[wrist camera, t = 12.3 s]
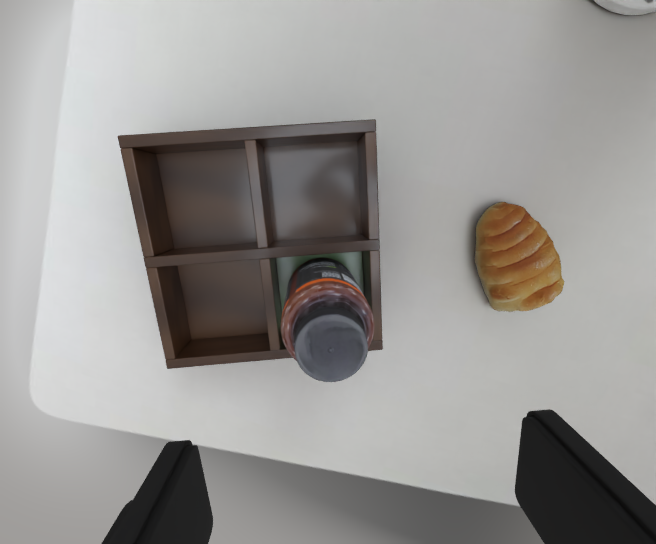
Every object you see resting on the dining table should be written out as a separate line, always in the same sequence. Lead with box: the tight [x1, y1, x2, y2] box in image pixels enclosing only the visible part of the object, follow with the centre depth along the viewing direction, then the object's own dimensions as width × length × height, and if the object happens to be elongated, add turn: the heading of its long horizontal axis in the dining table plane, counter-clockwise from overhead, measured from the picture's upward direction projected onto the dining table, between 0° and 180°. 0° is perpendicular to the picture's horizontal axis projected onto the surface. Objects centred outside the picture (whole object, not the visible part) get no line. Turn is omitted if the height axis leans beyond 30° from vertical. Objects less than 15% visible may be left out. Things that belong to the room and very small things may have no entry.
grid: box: [118, 119, 383, 369], centre depth 25 cm, size 17×17×4 cm
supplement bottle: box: [281, 258, 374, 382], centre depth 22 cm, size 6×6×11 cm
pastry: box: [475, 202, 564, 312], centre depth 27 cm, size 9×7×4 cm
